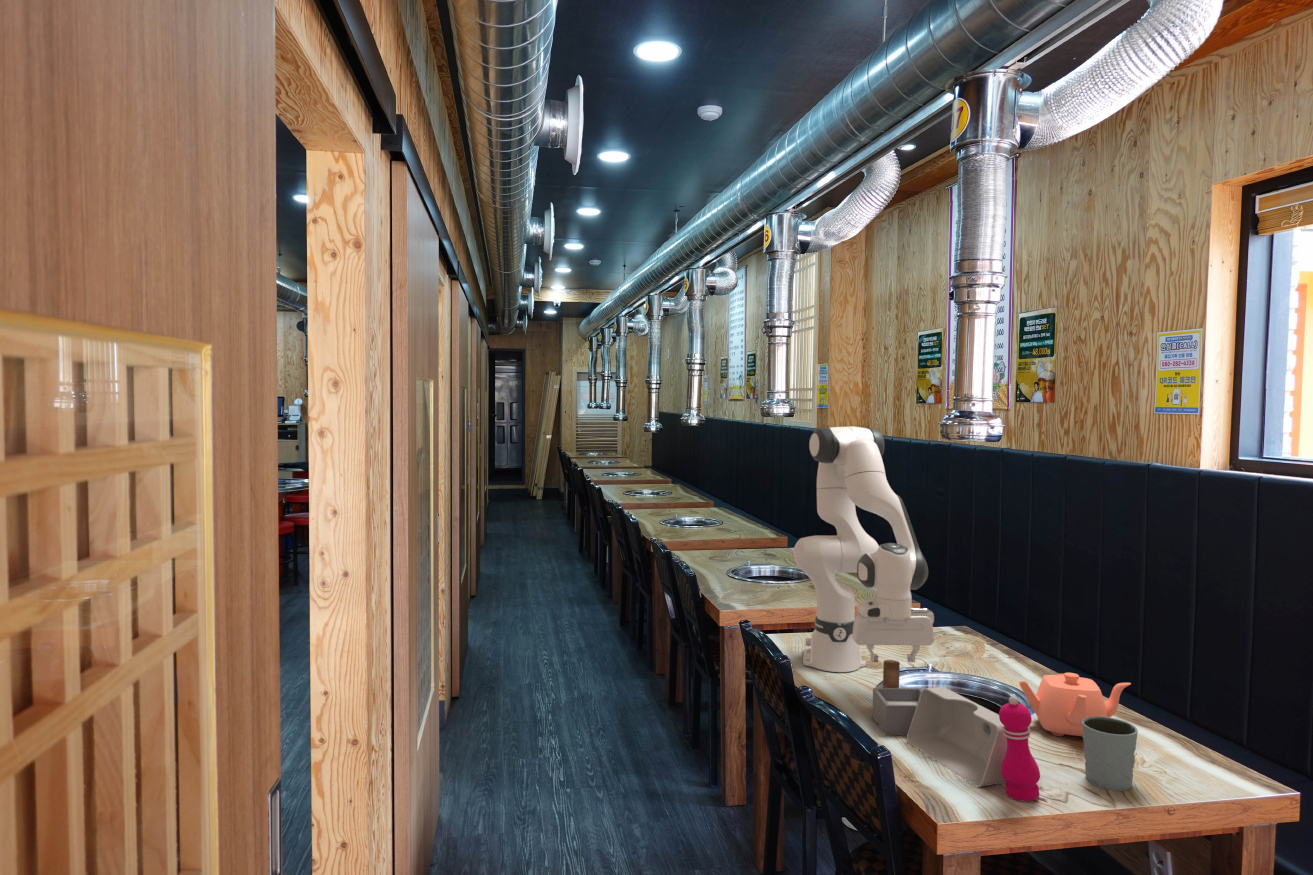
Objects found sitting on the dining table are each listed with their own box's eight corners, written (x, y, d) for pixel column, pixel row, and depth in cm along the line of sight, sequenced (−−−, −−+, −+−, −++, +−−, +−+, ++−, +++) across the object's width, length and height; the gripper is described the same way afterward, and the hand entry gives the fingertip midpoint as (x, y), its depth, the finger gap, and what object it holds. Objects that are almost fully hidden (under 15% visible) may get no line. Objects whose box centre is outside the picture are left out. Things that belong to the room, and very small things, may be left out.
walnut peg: (880, 704, 214) (881, 659, 214) (896, 705, 214) (897, 659, 214) (884, 710, 210) (885, 664, 210) (900, 710, 210) (901, 664, 210)
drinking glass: (1147, 790, 168) (1149, 732, 168) (1104, 794, 166) (1106, 736, 166) (1110, 768, 178) (1112, 713, 178) (1069, 772, 176) (1071, 717, 176)
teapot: (1130, 736, 196) (1132, 679, 195) (1082, 752, 186) (1085, 692, 186) (1059, 711, 211) (1061, 658, 211) (1012, 724, 202) (1014, 669, 201)
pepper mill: (1045, 802, 161) (1036, 702, 160) (1006, 802, 163) (996, 703, 162) (1038, 785, 168) (1029, 689, 167) (1000, 785, 170) (991, 690, 169)
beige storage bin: (1042, 778, 174) (1044, 720, 173) (980, 789, 168) (982, 729, 168) (961, 732, 197) (963, 681, 196) (905, 741, 192) (906, 688, 191)
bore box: (872, 715, 207) (873, 687, 207) (920, 715, 207) (920, 688, 207) (885, 734, 195) (886, 705, 195) (936, 734, 195) (937, 705, 195)
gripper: (929, 605, 214) (929, 658, 214) (851, 604, 214) (850, 657, 214) (938, 611, 208) (937, 665, 208) (857, 610, 208) (856, 664, 208)
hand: (892, 661), depth 211 cm, fingers open, 8 cm apart
